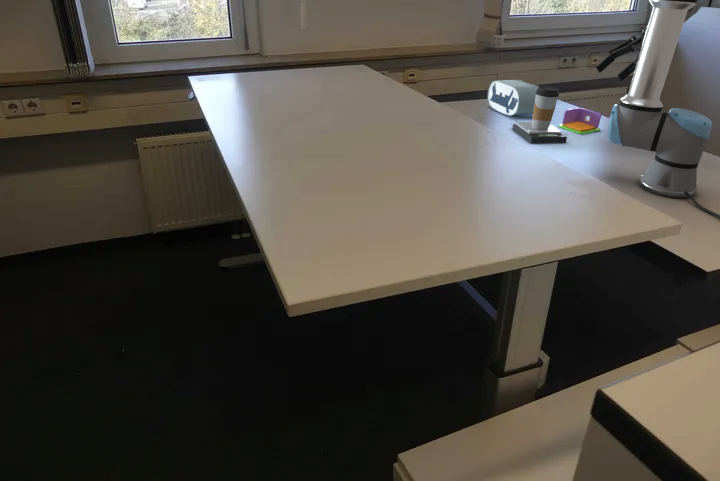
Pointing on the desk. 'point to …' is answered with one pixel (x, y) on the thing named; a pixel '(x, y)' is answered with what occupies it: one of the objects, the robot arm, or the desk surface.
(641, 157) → the desk surface
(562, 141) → the scale
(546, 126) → the coffee cup
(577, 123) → the toy room diorama
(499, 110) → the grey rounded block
